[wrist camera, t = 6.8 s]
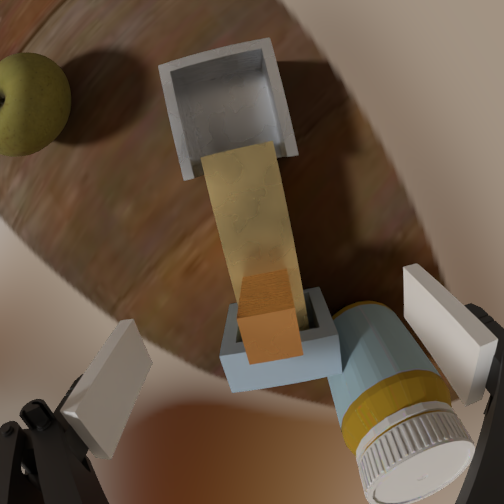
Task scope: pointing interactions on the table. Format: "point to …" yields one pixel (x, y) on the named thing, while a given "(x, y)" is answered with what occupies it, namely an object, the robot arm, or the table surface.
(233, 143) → the sleeve
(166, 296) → the table surface
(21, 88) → the apple
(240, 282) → the yellow orange l-shaped block
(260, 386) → the socket block
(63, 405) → the robot arm
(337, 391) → the bottle
